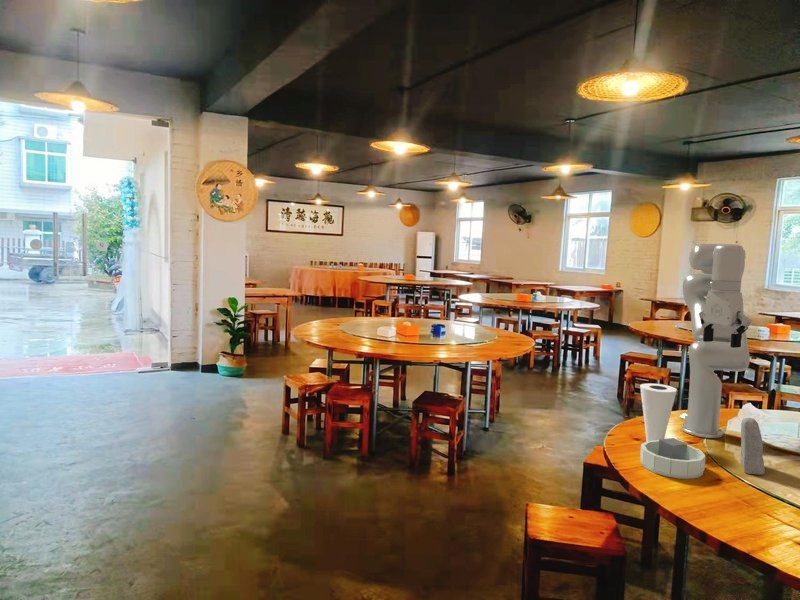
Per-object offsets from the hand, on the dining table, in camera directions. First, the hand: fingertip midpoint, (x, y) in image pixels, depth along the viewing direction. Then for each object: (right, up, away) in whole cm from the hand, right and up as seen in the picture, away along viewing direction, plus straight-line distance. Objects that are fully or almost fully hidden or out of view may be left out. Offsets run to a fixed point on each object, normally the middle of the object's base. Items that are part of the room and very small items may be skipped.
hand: (721, 344), depth 161 cm
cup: (-13, -33, +14) cm, 38 cm away
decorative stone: (+5, -35, -5) cm, 36 cm away
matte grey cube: (-18, -34, -6) cm, 39 cm away
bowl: (-18, -35, -6) cm, 39 cm away
